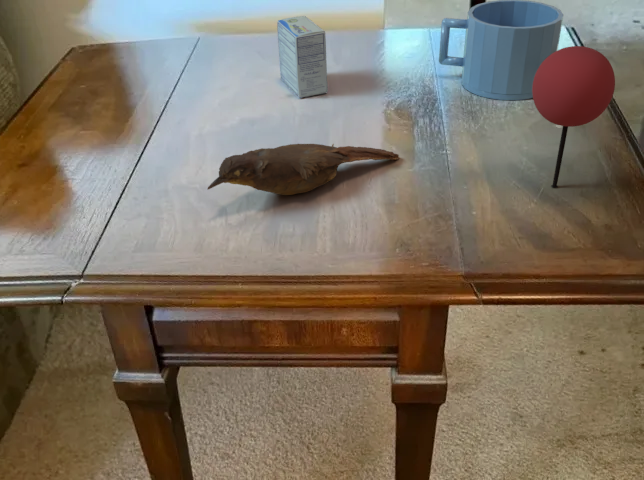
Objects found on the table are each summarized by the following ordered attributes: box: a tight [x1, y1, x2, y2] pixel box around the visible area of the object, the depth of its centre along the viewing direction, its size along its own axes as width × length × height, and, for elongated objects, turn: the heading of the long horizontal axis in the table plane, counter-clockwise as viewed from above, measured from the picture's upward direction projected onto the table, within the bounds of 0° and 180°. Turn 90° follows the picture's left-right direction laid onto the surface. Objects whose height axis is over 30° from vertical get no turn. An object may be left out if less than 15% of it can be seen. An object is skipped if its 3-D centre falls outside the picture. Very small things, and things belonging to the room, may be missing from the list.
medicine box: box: [276, 15, 328, 99], centre depth 106 cm, size 8×4×9 cm, turn 20°
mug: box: [438, 0, 564, 101], centre depth 105 cm, size 16×12×10 cm
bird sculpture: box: [207, 143, 400, 196], centre depth 85 cm, size 7×25×5 cm, turn 122°
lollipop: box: [532, 45, 616, 189], centre depth 79 cm, size 8×8×15 cm
